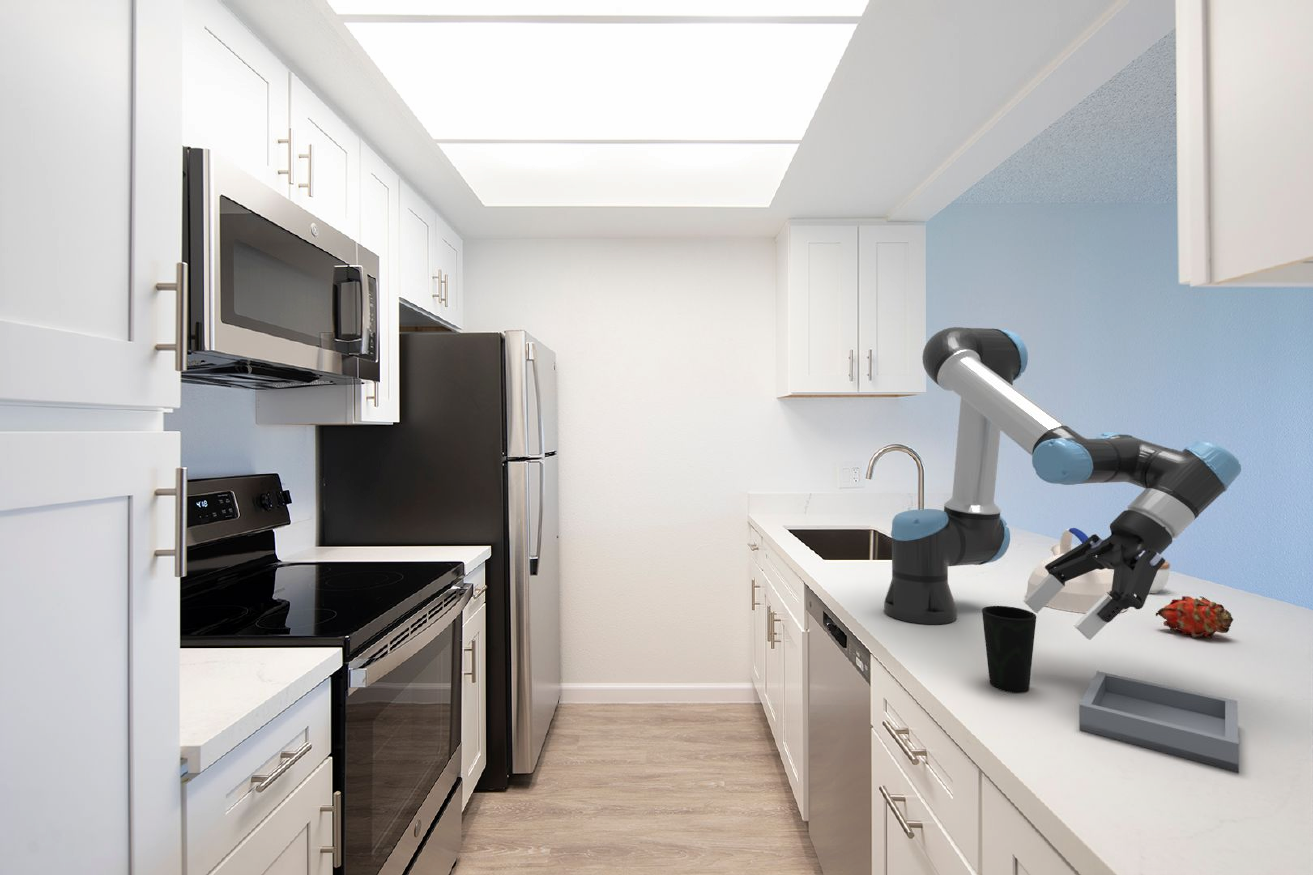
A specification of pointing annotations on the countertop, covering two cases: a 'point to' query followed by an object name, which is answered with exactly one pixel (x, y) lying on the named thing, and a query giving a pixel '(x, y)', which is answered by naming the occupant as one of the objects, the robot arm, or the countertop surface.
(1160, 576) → the lidded jar
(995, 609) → the cup
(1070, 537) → the kettle
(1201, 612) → the dragon fruit
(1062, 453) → the robot arm
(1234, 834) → the countertop surface
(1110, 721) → the box
